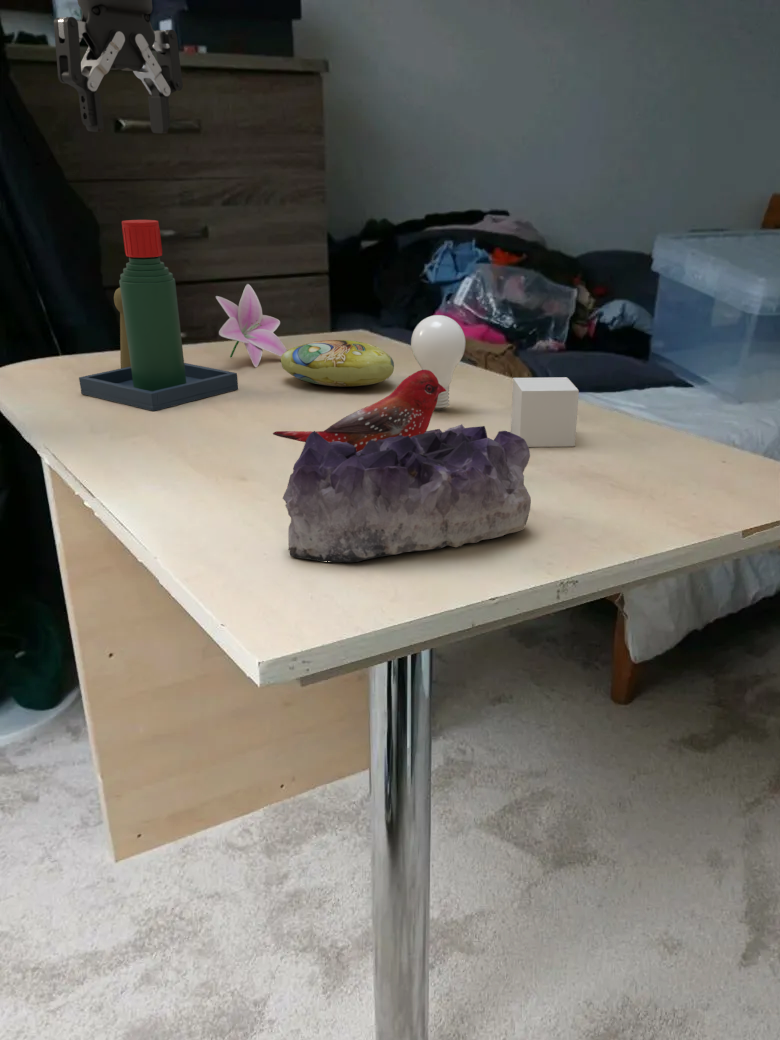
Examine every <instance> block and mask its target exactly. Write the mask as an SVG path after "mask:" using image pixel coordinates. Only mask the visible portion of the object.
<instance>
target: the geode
mask: <svg viewBox="0 0 780 1040" xmlns="http://www.w3.org/2000/svg"><path fill="white" fill-rule="evenodd" d="M530 458H531V452H530V447H528V446H527V443H526V441H525V440H524V439H523V438H521V437H519V436H517V435H515V434H513V433H511V431H507V430H501V431H498V432H497V434H496V436H495V438H494V439H492V438H490V437H488V434H487V430H486V426H485V425H480V426H470V427H465V426H464V425H463V424H462V423H460V424H458V425H455V426H453V427H449V428H446V430H444V431H442V429H440V428H436V429H430V430H426V432H425V433H424V434H419V435H415V436H412V437H409V436H402V435H399V436H396V437H389V438H386V439H383V440H378V441H377V442H376V441H374V440H370V441H369V442H368V443H367V444H366V446H365V447H364V448H363V450H361V451H358V452H356V447H355V446H354V445H351V444H349V443H347V442H340V441H334V442H328V441H326V440H325V439H324V438H323V437H321V436H320V435H319V434H318V433H317V432H316V430H313V432H312V433H311V434H310V435H309V436H308V438H307V439H306V442H304V445H303V448H302V450H301V453H300V455H299V456H298V459H297V460H296V461H295V463H294V464H293V468H292V472H291V474H290V475H289V480H288V482H287V486H286V489H285V491H284V493H283V496H282V500H283V501H284V502H285V508H286V510H287V514H288V516H289V517H290V522H289V525H288V533H287V535H288V539H287V540H288V549H287V550H288V551H289V556H290V557H293V558H296V559H305V560H311V561H318V562H321V561H327V562H328V561H332V562H331V563H359V562H362V561H365V560H370V559H376V558H380V557H387V556H394V555H399V554H400V555H401V554H403V553H412V552H421V551H428V550H438V549H439V550H440V549H443V548H445V547H447V546H449V547H453V548H459V547H458V546H460V547H462V546H463V545H464V544H477V543H479V542H480V541H482V540H490V539H496V538H500V537H503V536H504V535H508V534H512V533H513V534H514V533H517V532H521V531H523V530H524V529H525V526H526V524H527V522H528V520H529V515H530V510H531V505H532V504H531V502H532V500H531V495H530V493H529V491H528V489H527V488H526V486H525V475H524V472H525V469H526V468H527V466H528V464H529V461H530Z"/></svg>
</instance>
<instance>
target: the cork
mask: <svg viewBox="0 0 780 1040" xmlns="http://www.w3.org/2000/svg"><path fill="white" fill-rule="evenodd" d="M113 303H114V306H115V308H116V310H117V311H118V312H119V327H120V328H119V334H120V335H119V338H120V339H119V340H120V341H119V343H120V345H119V347H120V349H119V351H120V353H119V355H120V369H121V368H126V367H130V366H131V364H130V356H129V349H128V342H127V334H126V327H125V320H124V312H123V305H122V297H121V290H120V287H118V288H116V289H115V291H114V294H113Z"/></svg>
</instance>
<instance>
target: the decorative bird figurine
mask: <svg viewBox="0 0 780 1040" xmlns="http://www.w3.org/2000/svg"><path fill="white" fill-rule="evenodd" d="M444 391H446V389H445V388H444V387H443V386H441V385H440V384H439V383H438V379H437V377H436V376H435V375H434V374H433V373H432V372H431V371H429V370H422V369H420V370H418V371H416V372H413V373H412V374H410V375H408V376H407V377H405V378H404V379H403V380H402V381H401V382H400V383H399V384H398V386H397V387H396V388H395V389H394V390H393V391H392V392H391V393H390V394H389V395H387V396H386V397H384V398H382V399H380V400H379V401H377V402H375V403H372V404H370V405H368V406H365V407H363V408H362V407H361V408H360V409H357V410H356V411H354V412H352V413H350V414H348V415H346V416H345V417H343V418H341V419H339V420H338V421H336V422H335V423H333V424H331V425H330V426H329V427H327V428H326V429H324V430H320V431H319V430H317V431H316V430H315V431H316V432H317V433H318V434H319V435H320V436H321V437H323V438H324V439H325V440H326V441H328V442H334V441H340V442H347V443H349V444H351V445H354V446H355V447H356V452H358V451H361V450H363V448H364V447H365V446H366V444H367V443H368V442H369V441H370V440H374V441H376V442H377V441H378V440H383V439H386V438H389V437H396V436H399V435H402V436H409V437H412V436H415V435H419V434H424V433H425V432H426V431H428V428H429V425H430V423H431V419H432V416H433V414H434V411H435V410H434V409H435V407H436V404H437V400H438V395H439V394H440V393H441V392H444ZM313 431H314V430H313ZM313 431H311V430H310V431H304V430H301V431H300V430H299V431H298V430H276V431H273V432H272V435H273V436H276V437H279V438H284V439H288V440H293V441H298V442H302V443H305V442H306V439H307V438H308V436H309V435H310V434H311V433H312V432H313Z"/></svg>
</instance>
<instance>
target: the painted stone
mask: <svg viewBox="0 0 780 1040" xmlns="http://www.w3.org/2000/svg"><path fill="white" fill-rule="evenodd" d="M280 363H281V366H282V369H283V370H284V371H285V372H286V373H287V374H289V375H291V376H292V377H294V378H296V379H298V380H300V381H303V382H306V383H311V384H315V385H321V386H328V387H339V388H340V387H341V388H342V387H344V388H346V387H362V386H369V385H374V384H378V383H382V382H384V381H386V380H388V379H389V378H390V377H391V376H393V373H394V370H395V362H394V359H393V357H392V356H390V354H388V353H387V352H386V351H385V350H383V349H382V348H380V347H378V346H377V345H374V344H370V343H367V342H363V341H357V340H351V339H350V340H349V339H326V340H318V341H313V342H308V343H303V344H300V345H297V346H293V347H292V348H289V349H287V351H286V352H285V353H283V355H282V356H281V357H280Z"/></svg>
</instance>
